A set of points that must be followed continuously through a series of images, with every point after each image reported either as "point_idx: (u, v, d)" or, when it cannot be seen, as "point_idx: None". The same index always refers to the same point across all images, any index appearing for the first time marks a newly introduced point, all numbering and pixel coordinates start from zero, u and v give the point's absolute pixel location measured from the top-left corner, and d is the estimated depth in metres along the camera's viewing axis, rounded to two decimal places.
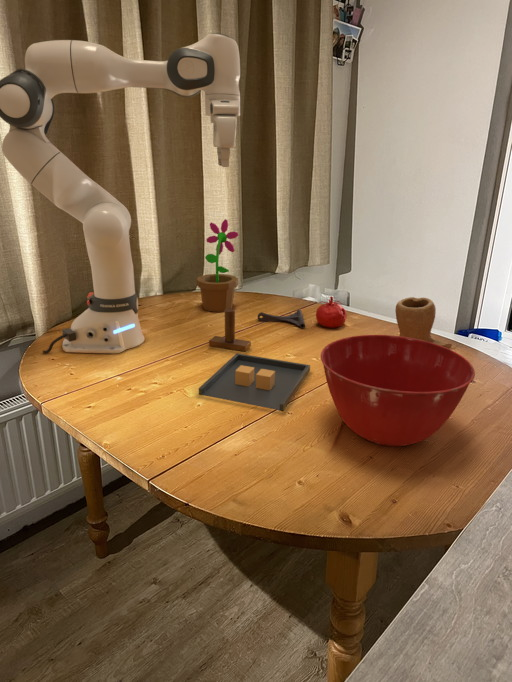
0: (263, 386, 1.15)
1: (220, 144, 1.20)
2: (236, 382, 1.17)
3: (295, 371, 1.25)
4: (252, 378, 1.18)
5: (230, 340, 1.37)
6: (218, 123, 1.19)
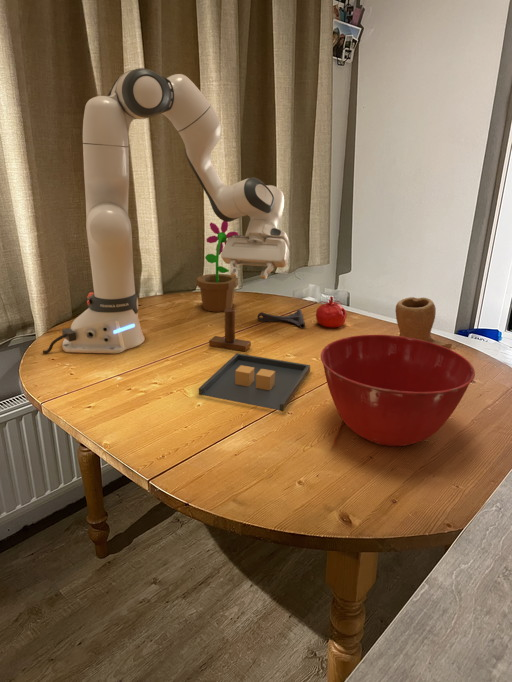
0: (263, 386, 1.15)
1: (282, 259, 1.41)
2: (236, 382, 1.17)
3: (295, 371, 1.25)
4: (252, 378, 1.18)
5: (230, 340, 1.37)
6: (285, 245, 1.42)
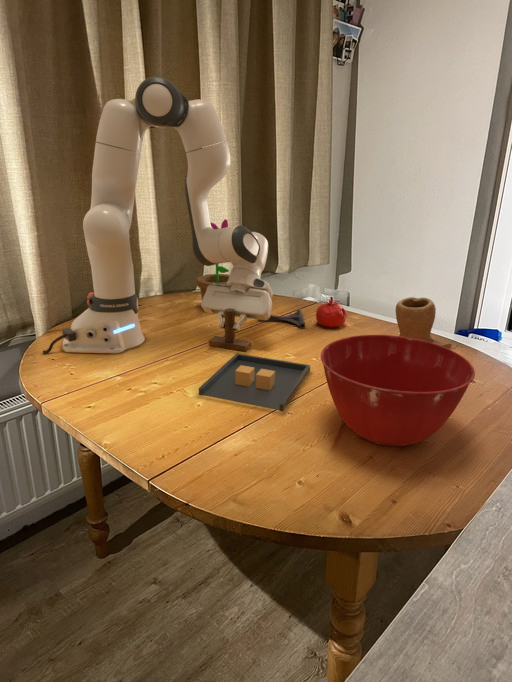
0: (263, 386, 1.15)
1: (265, 313, 1.34)
2: (236, 382, 1.17)
3: (295, 371, 1.25)
4: (252, 378, 1.18)
5: (230, 340, 1.37)
6: (269, 297, 1.36)
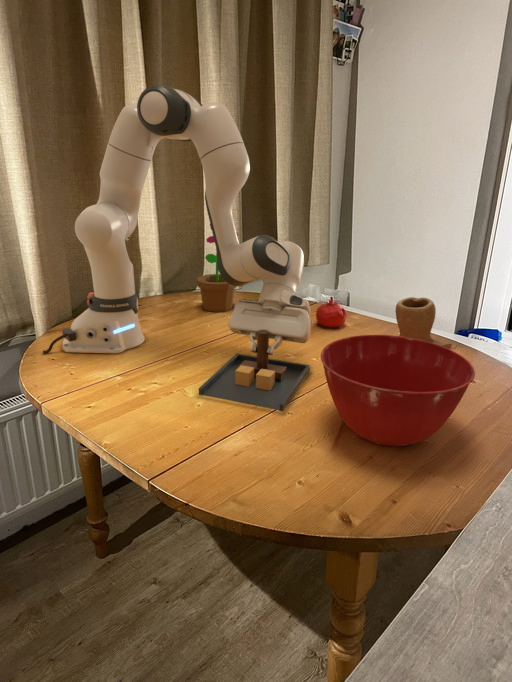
0: (263, 386, 1.15)
1: (304, 335, 1.17)
2: (236, 382, 1.17)
3: (295, 371, 1.25)
4: (252, 378, 1.18)
5: (263, 366, 1.20)
6: (308, 317, 1.18)
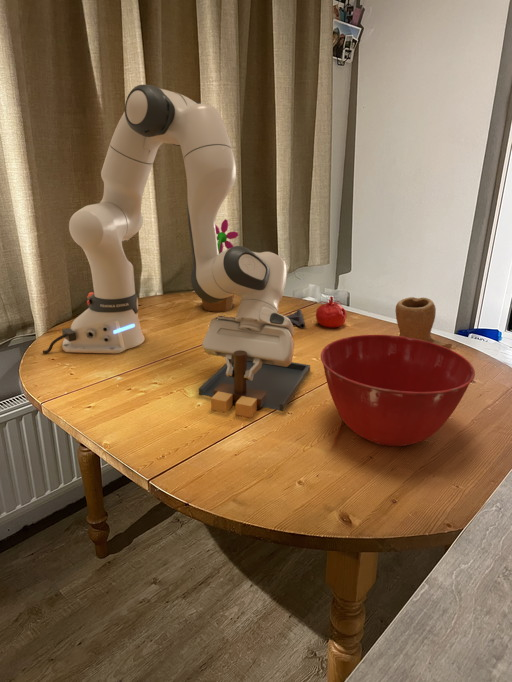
0: None
1: (286, 358, 1.04)
2: None
3: (295, 371, 1.25)
4: (230, 405, 1.07)
5: (241, 391, 1.07)
6: (290, 337, 1.05)
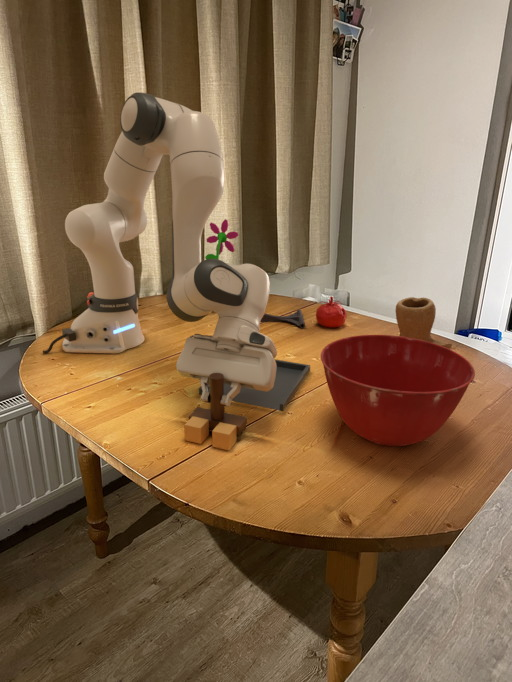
0: (221, 445, 0.94)
1: (266, 383, 0.94)
2: (186, 438, 0.96)
3: (295, 371, 1.25)
4: (205, 432, 0.97)
5: (218, 417, 0.97)
6: (272, 359, 0.95)
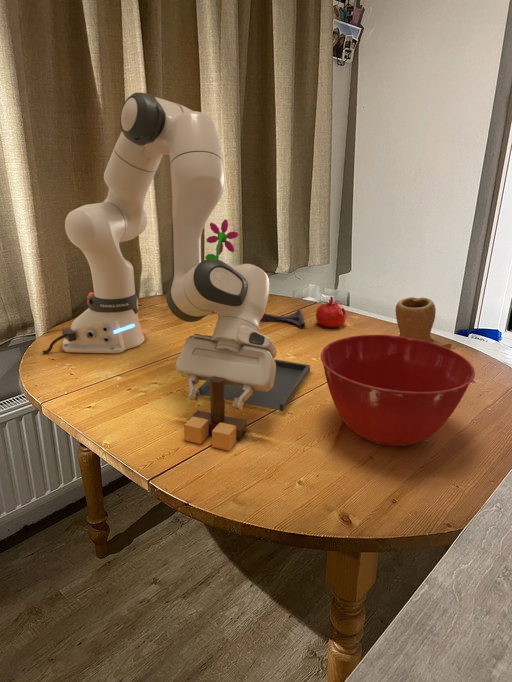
0: (221, 445, 0.94)
1: (266, 383, 0.94)
2: (186, 438, 0.96)
3: (295, 371, 1.25)
4: (205, 432, 0.97)
5: (218, 420, 0.98)
6: (271, 360, 0.95)
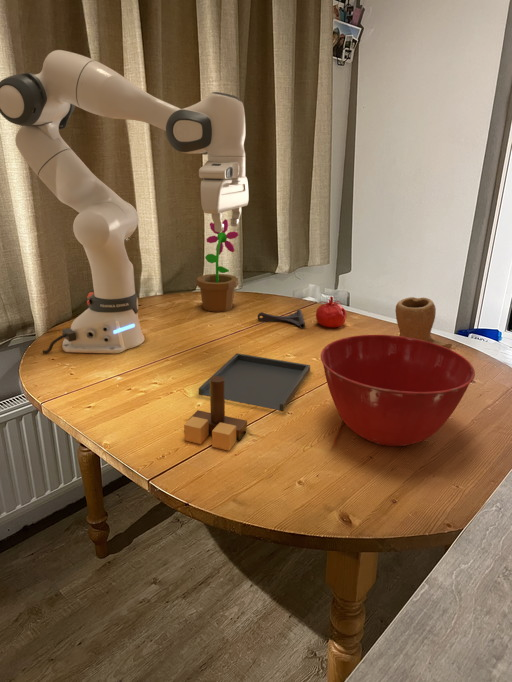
0: (221, 445, 0.94)
1: (203, 210, 1.13)
2: (186, 438, 0.96)
3: (295, 371, 1.25)
4: (205, 432, 0.97)
5: (218, 420, 0.98)
6: (201, 188, 1.11)
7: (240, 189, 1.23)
